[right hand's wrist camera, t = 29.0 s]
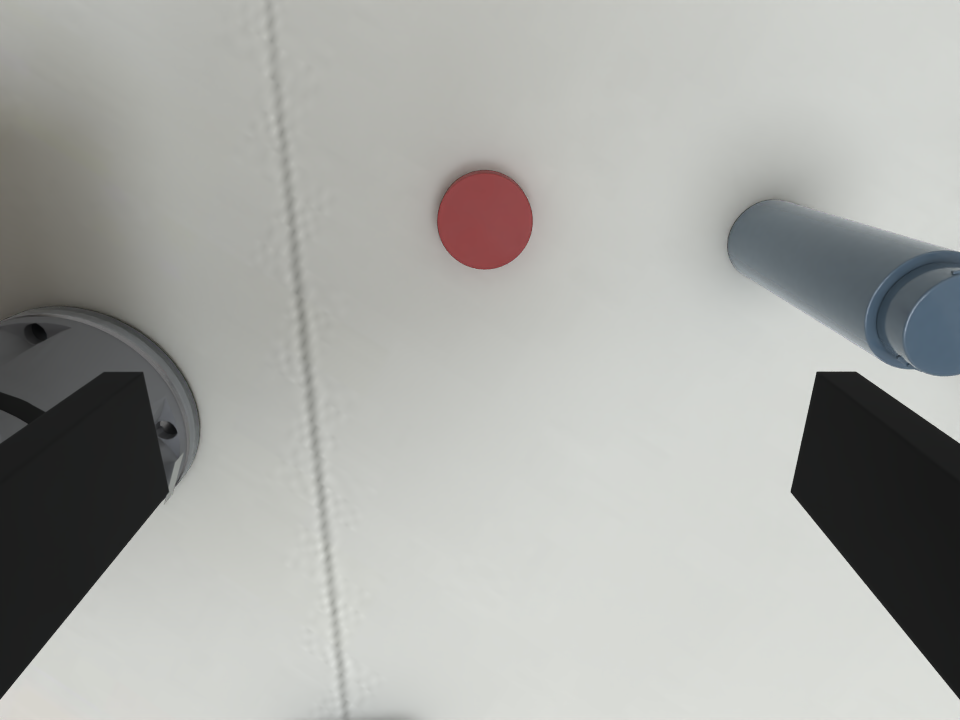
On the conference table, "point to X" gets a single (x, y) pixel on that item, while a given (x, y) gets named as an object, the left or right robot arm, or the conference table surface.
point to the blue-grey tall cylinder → (857, 281)
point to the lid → (484, 219)
